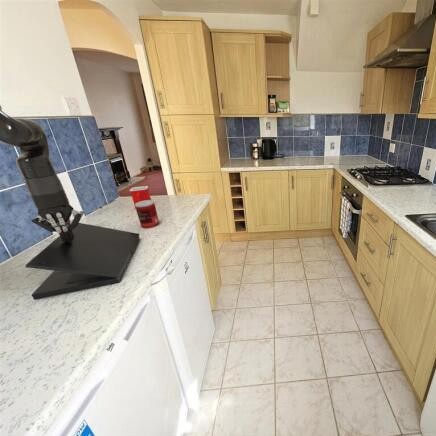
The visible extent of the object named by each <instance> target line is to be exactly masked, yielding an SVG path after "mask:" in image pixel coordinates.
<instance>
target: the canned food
mask: <svg viewBox="0 0 436 436" xmlns="http://www.w3.org/2000/svg"><path fill="white" fill-rule="evenodd" d="M135 207H136V209H135V210H136V214H137V218H138V220H139V223H140V226H141V228H143V229H150V228H151V229H152V228H154V227H157V226H159V224H160V219H159V215H158V212H157V207H156V204H155V201H154V200H153V199H151V200H145V201H140V202H138V203H136V204H135V205H134V208H135Z"/></svg>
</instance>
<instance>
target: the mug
mask: <svg viewBox="0 0 436 436" xmlns="http://www.w3.org/2000/svg"><path fill="white" fill-rule="evenodd" d="M129 192H130V195H131V198H132V201H133V206H134V208H135V210H136V207H135V204H136V203H138V202H140V201H145V200H152V198H151V193H150V190H149V186H148V185H142V186H135V187H134V186H133V187H131V188H130V189H129Z"/></svg>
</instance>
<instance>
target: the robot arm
mask: <svg viewBox="0 0 436 436" xmlns="http://www.w3.org/2000/svg"><path fill="white" fill-rule="evenodd" d="M0 142H1V143H2V144H5V145H8V146H10V147H15V148H19V152H20V154H19V155H18V156H17V157H16V159H15V164H16V166H17V168H18V170H19V172H20V174H21V177H22V178H23V181H24V185H25V188H26V189H27V192H28V194H29V196H30V198H31V201H32V202H33V204H34V207H35V208H36V210H37V215H36V216H35V217H34V218H33V219H31V223H33V224H35V225H37V226H39V227H40V228H42V229H44V230H46V231H48V232H49V233H58V235H59V236H60V237H61V239H62V241H65V243H68V242H72V241H73V240H74V238H75V236H74V234H73V232H72V229H74V228H75V227H76V226H77V225H78V223H80V221H81V220H82V218H83V216H84V211H82V210H80V211H78V210H76V209H74V207H73V206H72V205H71V204H70V200H69V197H68V196H67V194H66V191H65V188H64V186H63V184H62V182H61V180H60V178H59V176H58V174H57V172H56V169H55V167H54V165H53V163H52V161H51V156H50V148H49V142H48V138H47V134H46V133H45V130H44V128H42V127H41V126H40V124H39V123H37V122H36V121H33V120H32V119H29V118H14V117H11V116H10V115H8V114H7V113H5V112H4V111H3V107H2V105H1V104H0ZM71 216H73V218H74V219H73V221H72V223H71V224H70V217H71Z"/></svg>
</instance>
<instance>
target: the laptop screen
mask: <svg viewBox="0 0 436 436" xmlns="http://www.w3.org/2000/svg"><path fill="white" fill-rule="evenodd" d="M72 232H73V234H74V236H75V238H74V240H73V241H72V242H68V243H65V241H62V239H61V237H60V235H59V236H58V237H57V238H55V239H54V240H53V241H52V242H50V244H48V245H47V246H46V247H45V248H43V249H42V250H41V251H40V252H39V253H38V254H37V255H35V256H34V257H33V258H32V259H31V260H30V261H28V262H27V263H26V264H25V266H24V267H25V268H29V269H37V270H46V271H52V272H53V271H62V272H71V273H80V274H89V275H98V276H107V277H116V278H118V276H119V274H120V272H121V270H122V268H123V266H124V264H125V262H126V260H127V258H128V256H129V254H130V252H131V250H132V248H133V246H134V244H135V242H136V240H137V239H138V237H140V233H137V232H132V231H126V230H120V229H116V228H110V227H104V226H98V225H94V224H88V223H83V222H79V223H78V225H77V226H76V227H75V228H74V229H72Z"/></svg>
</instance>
